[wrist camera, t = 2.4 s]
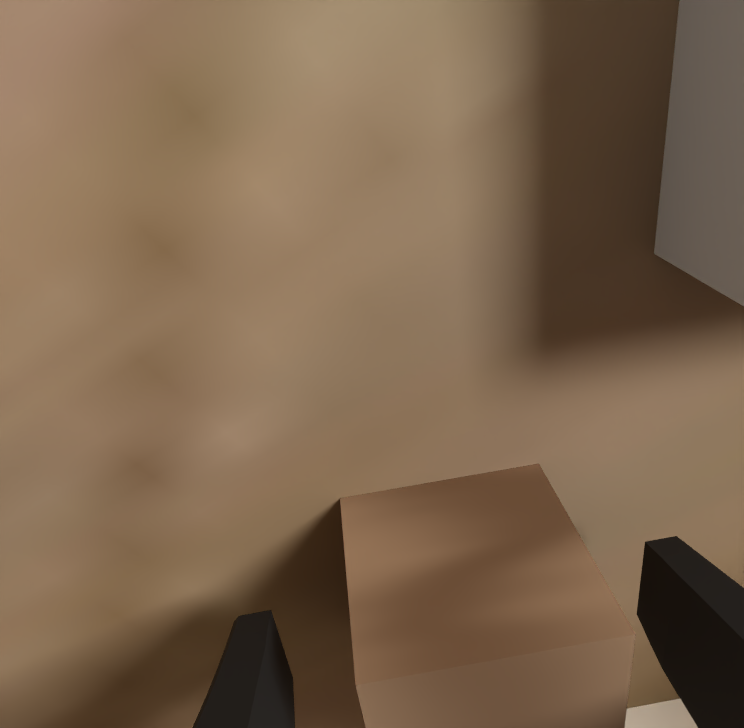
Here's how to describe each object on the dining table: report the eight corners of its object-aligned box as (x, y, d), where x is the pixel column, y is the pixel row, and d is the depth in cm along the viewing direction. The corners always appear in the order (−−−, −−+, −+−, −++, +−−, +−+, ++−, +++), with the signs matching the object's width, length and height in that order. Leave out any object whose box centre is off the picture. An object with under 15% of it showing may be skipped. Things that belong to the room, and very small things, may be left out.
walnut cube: (537, 461, 12) (635, 634, 8) (537, 597, 14) (617, 785, 10) (339, 495, 12) (355, 685, 8) (367, 628, 14) (389, 828, 10)
